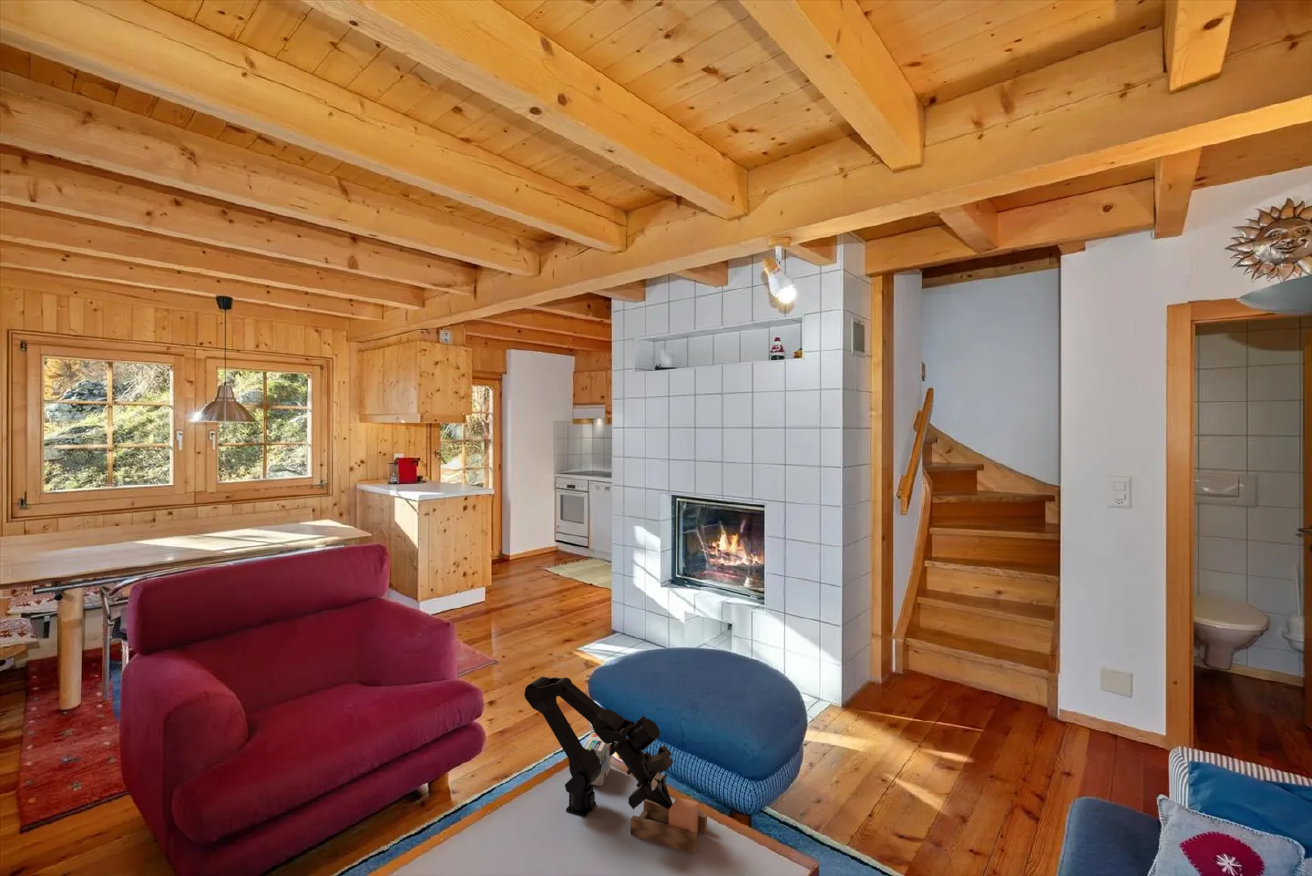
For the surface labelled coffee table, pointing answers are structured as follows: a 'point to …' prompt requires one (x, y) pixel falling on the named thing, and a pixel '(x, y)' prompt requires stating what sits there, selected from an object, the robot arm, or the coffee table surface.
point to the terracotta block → (684, 814)
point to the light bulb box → (599, 756)
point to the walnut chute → (665, 828)
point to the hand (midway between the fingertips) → (672, 808)
